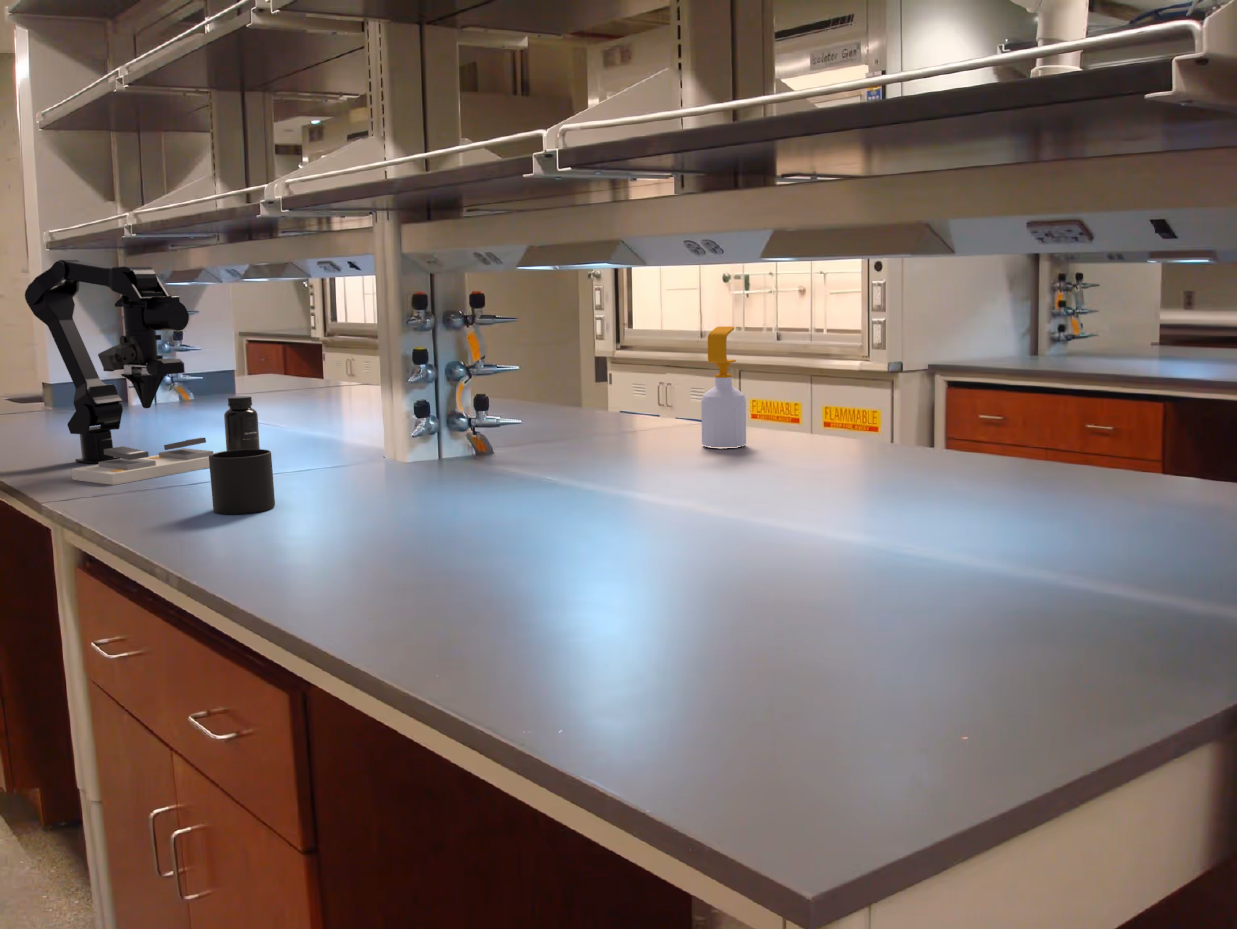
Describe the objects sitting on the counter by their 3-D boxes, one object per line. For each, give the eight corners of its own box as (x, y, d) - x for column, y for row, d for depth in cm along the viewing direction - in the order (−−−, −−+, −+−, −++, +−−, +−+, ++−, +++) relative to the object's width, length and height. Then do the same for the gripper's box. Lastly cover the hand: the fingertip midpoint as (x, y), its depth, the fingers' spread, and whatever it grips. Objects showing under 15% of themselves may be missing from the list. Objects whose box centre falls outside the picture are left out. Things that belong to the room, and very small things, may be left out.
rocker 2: (164, 450, 226) (163, 444, 226) (182, 447, 229) (181, 441, 229) (188, 445, 222) (187, 439, 222) (206, 442, 225) (205, 436, 225)
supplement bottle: (254, 454, 239) (249, 398, 237) (222, 455, 239) (217, 399, 237) (264, 450, 246) (260, 394, 244) (233, 450, 246) (229, 395, 244)
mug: (270, 498, 189) (266, 445, 188) (278, 511, 179) (274, 454, 177) (210, 504, 186) (206, 449, 184) (215, 517, 175) (210, 460, 174)
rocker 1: (104, 454, 215) (103, 448, 215) (123, 451, 219) (122, 445, 218) (129, 460, 211) (129, 454, 211) (148, 457, 214) (148, 451, 214)
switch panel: (72, 479, 213) (70, 464, 213) (186, 460, 234) (185, 446, 234) (113, 485, 206) (111, 469, 206) (227, 464, 227) (226, 450, 227)
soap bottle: (753, 444, 235) (752, 325, 231) (733, 450, 228) (732, 328, 224) (714, 442, 240) (713, 325, 236) (694, 448, 232) (692, 327, 228)
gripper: (75, 331, 224) (82, 409, 226) (132, 333, 214) (139, 415, 216) (126, 328, 233) (132, 403, 235) (183, 330, 223) (189, 409, 225)
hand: (146, 408), depth 228 cm, fingers closed
